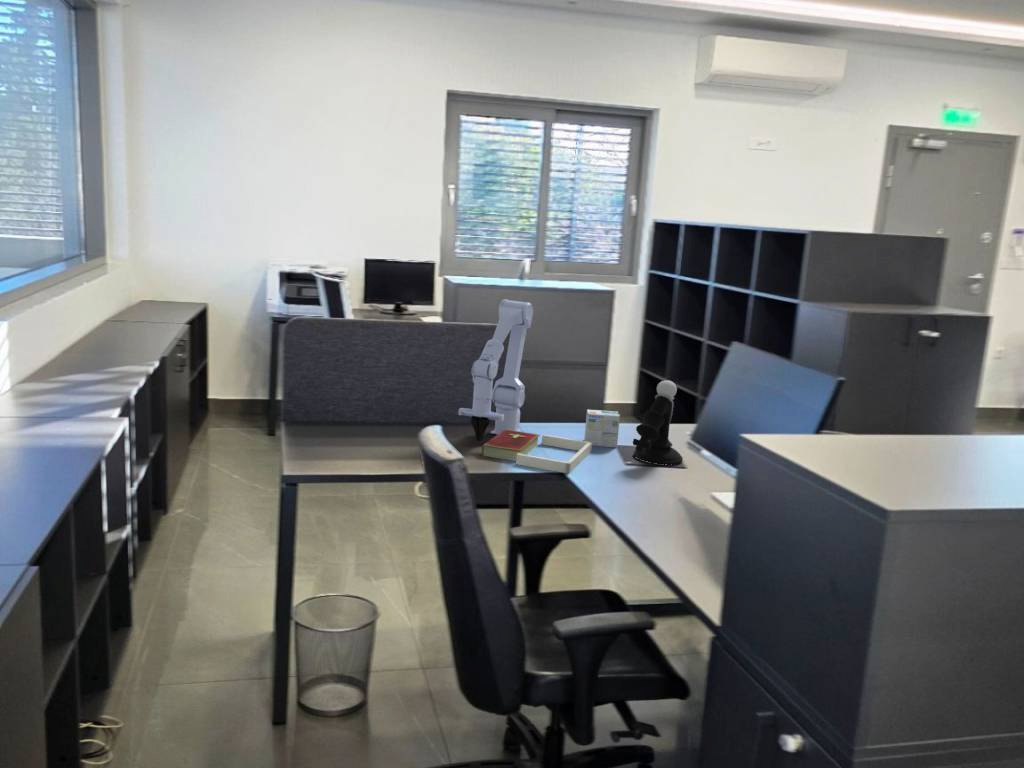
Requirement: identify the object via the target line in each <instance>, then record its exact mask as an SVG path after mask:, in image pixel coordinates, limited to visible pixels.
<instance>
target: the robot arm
mask: <svg viewBox="0 0 1024 768" xmlns="http://www.w3.org/2000/svg"><path fill="white" fill-rule="evenodd" d="M533 315H534V308H533V305H532V304H531V302H526V301H525V302H524V301H517V300H509V299H506V298H505V299H502V300H501V302H500V304H499V307H498V318H499V320H498V322H497V325H496V327H495V330H494V334H493V336H492V338H491V339H489V340H487V341H486V343H485V346H484V348H483V350H482V352H481V354H480V356H479V358H478V359H477V360H474V361H473V364H472V367H471V371H470V372H471V375H472V383H473V392H472V393H473V397H472V407H471V408H468V407H467V408H466V407H461V408H458V413H457V415H458V416H465V417H466V416H467V417H471V419H470V423H471V425H472V427H473V430H474V434H475V435H474V436H475V440H476V441H478V442H482V441H483V439H484V436H485V432H486V430H487V428H488V426H489V424H490V422H491V421H492V420H493V421H494V422H495V424H494V429H493V430H491V431H490V434H493V435H496V436H497V435H498V434H499V433H501V432H502V431H504V430H505V429H506V430H513V431H519V432H523V430H522V429H520V420H521V410H520V408H522V406H523V405H524V403H525V399H526V395H525V389H526V386H525V385H524V384H523V382H522V381H521V380H520V379H519V375H520V372H521V371H520V370H521V363H522V359H523V353H524V346H525V341H526V334H527V329H530V328H531V325H532V321H533ZM508 335H509V340H508V346H507V352H506V358H505V362H504V364H505V365H504V370H503V375H502V377H501V378H499V379H497V380H496V381H495V383H493V382H494V379H495V378H496V376H497V374H498V369H499V360H500V359H501V357H502V354H503V352H504V350H505V347H504V344H503V343H504V342H505V340H506V338H507V336H508ZM493 384H494V387H493ZM513 387H514V388H513ZM492 402H493V405H494V407H496V409H495V412H494V411H491V410H492V408H491V407H492Z"/></svg>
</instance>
